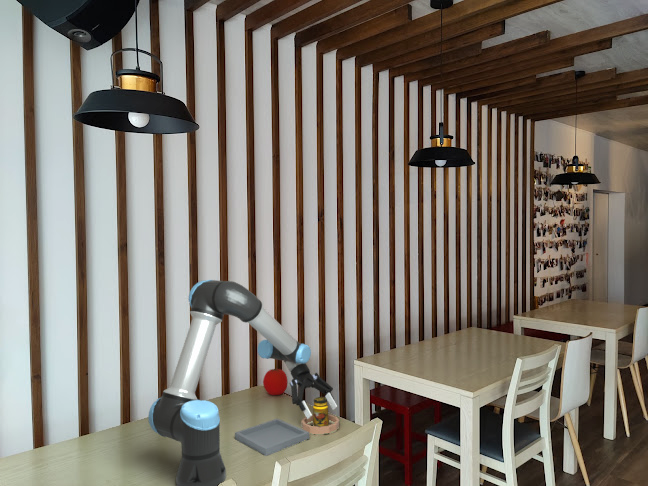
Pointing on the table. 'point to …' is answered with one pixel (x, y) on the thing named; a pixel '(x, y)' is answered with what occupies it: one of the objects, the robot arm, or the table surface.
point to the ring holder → (320, 429)
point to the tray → (271, 436)
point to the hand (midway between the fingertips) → (322, 412)
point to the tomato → (275, 382)
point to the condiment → (320, 412)
